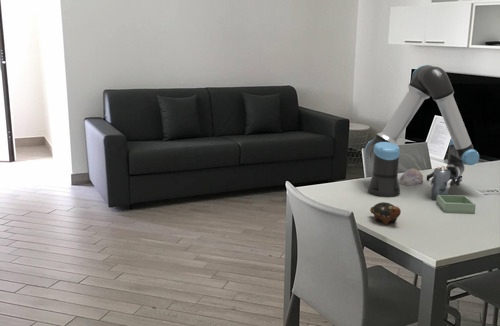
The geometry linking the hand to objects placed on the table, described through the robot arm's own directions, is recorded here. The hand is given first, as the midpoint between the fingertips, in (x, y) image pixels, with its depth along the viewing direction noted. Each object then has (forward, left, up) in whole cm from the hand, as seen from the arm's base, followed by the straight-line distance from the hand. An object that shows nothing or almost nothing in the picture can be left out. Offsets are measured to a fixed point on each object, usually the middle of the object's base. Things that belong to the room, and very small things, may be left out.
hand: (438, 184), depth 239 cm
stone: (-4, +33, -9) cm, 34 cm away
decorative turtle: (-29, -29, -9) cm, 42 cm away
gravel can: (+2, +4, -8) cm, 10 cm away
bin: (+5, -9, -8) cm, 13 cm away
